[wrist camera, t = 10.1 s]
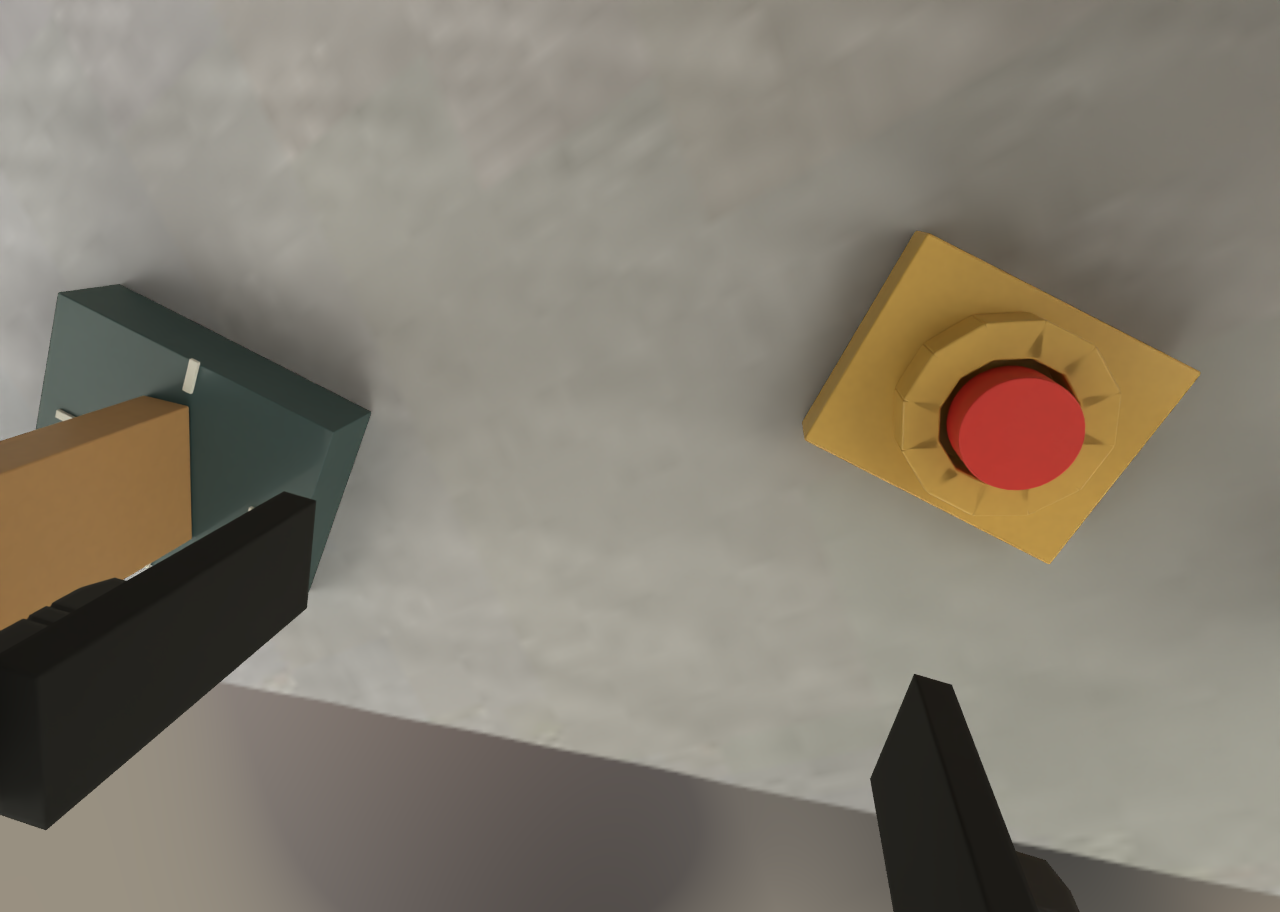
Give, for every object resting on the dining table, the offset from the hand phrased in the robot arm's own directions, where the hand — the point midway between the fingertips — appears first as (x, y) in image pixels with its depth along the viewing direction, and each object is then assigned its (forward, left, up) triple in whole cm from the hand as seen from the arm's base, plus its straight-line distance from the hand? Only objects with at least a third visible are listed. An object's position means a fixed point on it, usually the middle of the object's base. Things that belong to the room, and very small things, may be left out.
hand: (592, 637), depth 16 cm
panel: (-18, -10, -15) cm, 26 cm away
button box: (+9, +7, -15) cm, 19 cm away
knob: (-18, -10, -12) cm, 24 cm away
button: (+9, +7, -12) cm, 16 cm away
